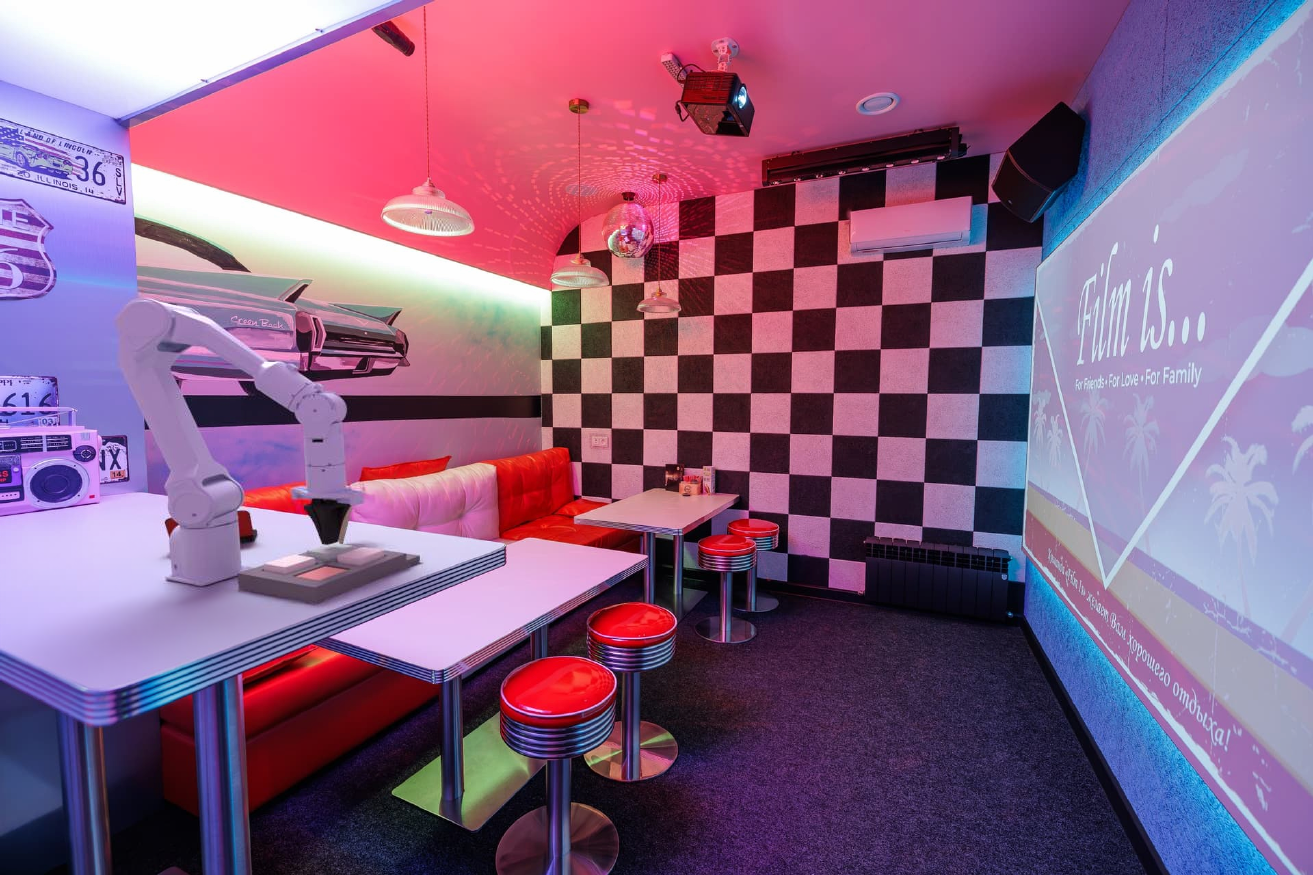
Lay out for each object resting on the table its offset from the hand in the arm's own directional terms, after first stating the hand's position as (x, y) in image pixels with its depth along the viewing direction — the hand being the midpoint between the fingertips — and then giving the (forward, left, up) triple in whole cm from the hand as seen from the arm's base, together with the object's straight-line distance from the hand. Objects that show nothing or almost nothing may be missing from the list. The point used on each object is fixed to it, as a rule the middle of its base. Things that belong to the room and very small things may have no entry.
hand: (330, 543), depth 91 cm
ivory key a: (0, -7, -2) cm, 7 cm away
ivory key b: (+7, 0, -2) cm, 7 cm away
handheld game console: (-34, +2, -5) cm, 35 cm away
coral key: (+7, -7, -3) cm, 10 cm away
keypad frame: (+4, -2, -4) cm, 6 cm away
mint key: (0, 0, -2) cm, 2 cm away
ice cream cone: (-11, +10, -5) cm, 16 cm away
